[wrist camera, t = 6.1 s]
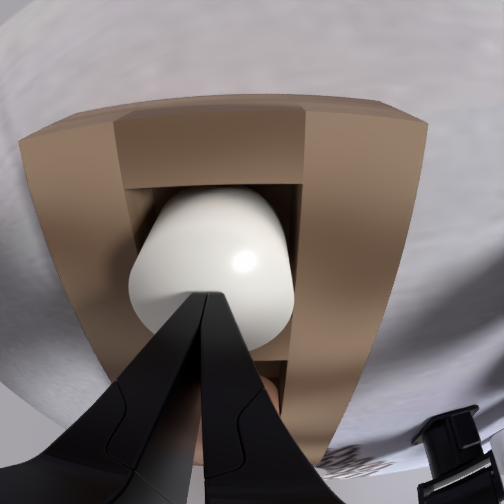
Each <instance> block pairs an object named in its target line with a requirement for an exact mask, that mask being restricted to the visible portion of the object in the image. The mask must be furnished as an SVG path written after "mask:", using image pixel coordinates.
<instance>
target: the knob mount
mask: <svg viewBox="0 0 504 504" xmlns="http://www.w3.org/2000/svg"><path fill="white" fill-rule="evenodd" d="M427 129H428V123H426V122H424V121H422V120H420V119H418V118H416V117H414V116H412V115H410V114H407V113H405V112H403V111H401V110H399V109H396V108H394V107H392V106H389V105H387V104H385V103H382V102H380V101H374V100H365V99H355V98H345V97H332V96H316V95H293V94H236V95H212V96H196V97H184V98H173V99H163V100H154V101H146V102H139V103H131V104H125V105H118V106H112V107H106V108H101V109H95V110H90V111H85V112H80V113H75V114H73V115H71V116H69V117H66V118H64V119H62V120H60V121H58V122H55V123H53V124H51V125H49V126H47V127H45V128H43V129H41V130H39V131H37V132H35V133H33V134H31V135H29V136H27V137H25V138H23V139H21V140H19V141H18V143H19V147H20V152H21V157H22V161H23V165H24V169H25V173H26V177H27V181H28V185H29V189H30V192H31V196H32V199H33V203H34V206H35V210H36V213H37V216H38V219H39V222H40V225H41V228H42V231H43V234H44V237H45V240H46V243H47V246H48V249H49V251H50V254H51V257H52V259H53V262H54V265H55V267H56V270H57V272H58V275H59V277H60V280H61V282H62V284H63V287H64V289H65V292H66V294H67V296H68V298H69V301H70V303H71V305H72V307H73V310H74V312H75V314H76V316H77V318H78V320H79V322H80V324H81V326H82V329H83V331H84V333H85V335H86V337H87V339H88V341H89V342H90V344H91V346H92V348H93V350H94V352H95V354H96V356H97V358H98V360H99V361H100V363H101V365H102V367H103V369H104V370H105V372H106V374H107V376H108V377H109V379H110V381H111V382H112V383H113V382H114V381H116V378H117V377H118V376H119V375H120V374H121V372H122V371H123V370H124V369H125V368H126V367H127V366H128V364H129V363H130V362H131V361H132V360H133V359H134V358H135V356H136V355H137V354H138V353H139V352H140V351H141V349H142V348H143V347H144V346H145V345H146V344H147V343H148V341H149V340H150V339H151V338H152V337H153V336H154V335H155V334H154V333H152V332H151V331H150V330H149V329H148V328H147V327H146V326H145V325H144V324H143V323H142V321H141V320H140V319H139V317H138V316H137V314H136V312H135V311H134V309H133V306H132V304H131V301H130V296H129V288H128V285H129V277H130V273H131V270H132V268H133V266H134V264H135V261H136V259H137V257H138V255H139V253H140V251H141V249H142V247H143V245H144V243H145V241H146V239H147V237H148V235H149V233H150V231H151V229H152V227H153V225H154V223H155V221H156V220H157V218H158V216H159V214H160V212H161V210H162V208H163V207H164V205H165V204H166V203H167V201H168V200H169V199H170V198H171V197H173V196H174V195H175V194H176V193H178V192H179V191H181V190H182V189H184V188H186V187H188V186H192V185H221V184H240V185H243V186H246V187H248V188H250V189H252V190H254V191H256V192H257V193H259V194H260V195H261V196H263V197H264V198H265V199H266V200H267V201H268V202H269V203H270V204H271V205H272V206H273V207H274V209H275V210H276V211H277V213H278V215H279V217H280V219H281V221H282V224H283V227H284V232H285V238H286V245H287V251H288V257H289V264H290V270H291V277H292V283H293V290H294V307H293V312H292V314H291V317H290V319H289V321H288V323H287V325H286V326H285V327H284V329H283V330H282V331H281V332H280V333H279V334H278V335H277V336H276V337H275V338H274V339H272V340H271V341H269V342H268V343H266V344H264V345H263V346H261V347H259V348H256V349H254V350H251V351H249V352H250V354H251V357H252V359H253V361H254V363H255V366H256V368H257V370H258V372H259V375H261V376H263V377H265V378H267V379H268V380H270V381H271V382H272V383H273V384H274V385H275V386H276V388H277V390H278V401H279V416H280V418H281V420H282V421H283V423H284V425H285V426H286V428H287V429H288V431H289V433H290V434H291V436H292V437H293V439H294V440H295V442H296V443H297V445H298V446H299V447H300V449H301V450H302V452H303V453H304V455H305V456H306V457H307V459H308V460H309V462H310V463H311V464H312V465H315V464H319V463H320V461H321V459H322V457H323V455H324V454H325V452H326V450H327V448H328V446H329V444H330V442H331V440H332V438H333V436H334V434H335V432H336V430H337V428H338V426H339V424H340V421H341V419H342V417H343V415H344V413H345V411H346V409H347V406H348V404H349V402H350V400H351V397H352V395H353V393H354V390H355V388H356V386H357V383H358V381H359V379H360V376H361V374H362V371H363V369H364V366H365V364H366V361H367V359H368V356H369V354H370V351H371V348H372V346H373V343H374V340H375V338H376V335H377V332H378V329H379V327H380V324H381V321H382V318H383V315H384V312H385V309H386V306H387V303H388V300H389V297H390V294H391V290H392V287H393V284H394V281H395V277H396V274H397V271H398V267H399V264H400V260H401V256H402V253H403V249H404V245H405V241H406V237H407V233H408V229H409V225H410V221H411V217H412V212H413V208H414V203H415V199H416V194H417V189H418V184H419V179H420V173H421V168H422V162H423V156H424V150H425V143H426V136H427ZM193 465H198V466H203V464H201V463H197V462H194V461H193Z"/></svg>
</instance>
